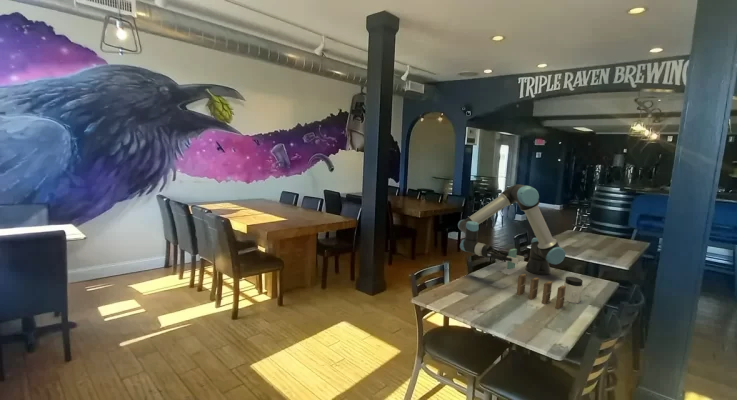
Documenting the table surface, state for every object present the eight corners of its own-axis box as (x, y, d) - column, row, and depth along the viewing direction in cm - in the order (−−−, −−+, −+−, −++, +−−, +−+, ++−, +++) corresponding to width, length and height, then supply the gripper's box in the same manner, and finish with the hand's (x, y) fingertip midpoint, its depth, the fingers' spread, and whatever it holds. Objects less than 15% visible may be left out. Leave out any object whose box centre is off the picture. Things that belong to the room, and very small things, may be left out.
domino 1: (521, 292, 209) (523, 273, 207) (524, 293, 207) (526, 274, 206) (516, 294, 205) (518, 275, 203) (519, 295, 203) (521, 276, 202)
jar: (563, 301, 198) (566, 280, 197) (560, 295, 206) (563, 275, 204) (582, 304, 196) (585, 282, 194) (578, 298, 203) (581, 277, 202)
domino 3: (546, 300, 198) (548, 281, 197) (549, 301, 197) (552, 282, 195) (541, 303, 194) (543, 283, 193) (544, 304, 193) (547, 284, 191)
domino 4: (559, 305, 193) (562, 285, 192) (563, 306, 192) (566, 286, 190) (555, 307, 189) (557, 287, 188) (558, 309, 188) (561, 288, 186)
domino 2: (533, 296, 204) (535, 277, 202) (536, 297, 202) (539, 278, 201) (528, 298, 200) (530, 279, 198) (531, 299, 198) (534, 280, 197)
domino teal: (512, 266, 212) (514, 248, 211) (515, 267, 211) (517, 249, 209) (506, 268, 208) (508, 249, 207) (509, 269, 207) (511, 250, 205)
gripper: (491, 254, 229) (528, 264, 212) (474, 258, 216) (511, 269, 199) (493, 242, 228) (529, 251, 210) (475, 246, 215) (513, 256, 198)
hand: (520, 260), depth 205 cm, fingers closed on domino teal, 6 cm apart
